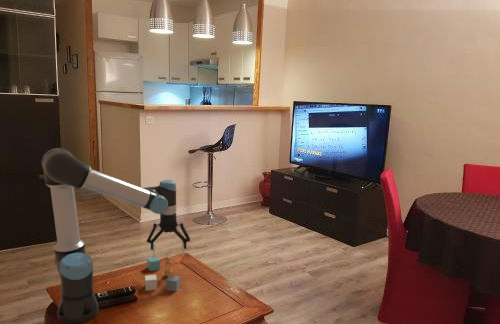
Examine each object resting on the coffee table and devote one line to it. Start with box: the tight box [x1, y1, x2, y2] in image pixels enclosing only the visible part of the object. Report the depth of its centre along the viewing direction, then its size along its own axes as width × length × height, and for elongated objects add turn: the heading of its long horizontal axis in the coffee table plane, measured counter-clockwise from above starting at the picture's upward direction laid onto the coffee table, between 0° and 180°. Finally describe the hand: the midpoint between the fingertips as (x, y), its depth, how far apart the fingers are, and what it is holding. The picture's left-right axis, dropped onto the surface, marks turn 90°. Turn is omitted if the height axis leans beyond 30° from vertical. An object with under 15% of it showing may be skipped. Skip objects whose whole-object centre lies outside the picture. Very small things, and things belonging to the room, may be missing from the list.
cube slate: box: [165, 274, 181, 292], centre depth 182 cm, size 5×5×5 cm
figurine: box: [159, 254, 177, 278], centre depth 191 cm, size 8×6×12 cm
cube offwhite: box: [144, 274, 158, 292], centre depth 181 cm, size 5×5×5 cm
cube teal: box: [146, 256, 161, 272], centre depth 201 cm, size 5×5×5 cm
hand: (168, 255), depth 191 cm, fingers open, 13 cm apart
